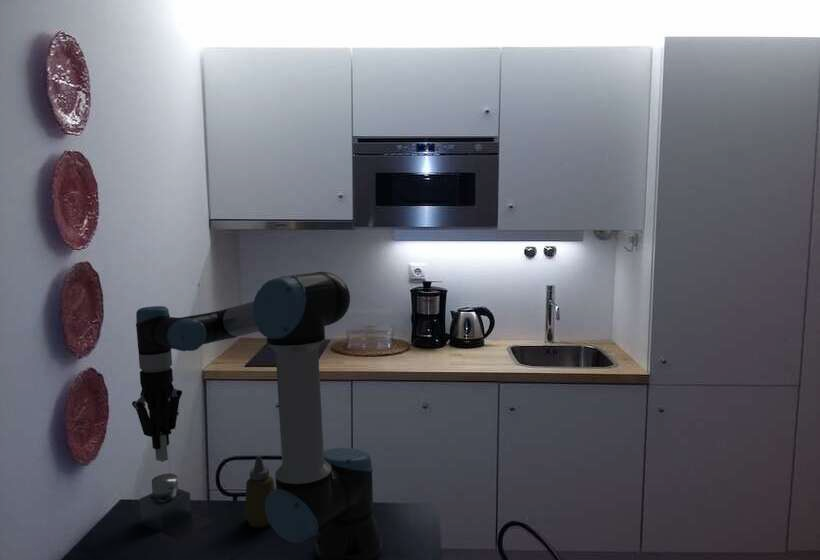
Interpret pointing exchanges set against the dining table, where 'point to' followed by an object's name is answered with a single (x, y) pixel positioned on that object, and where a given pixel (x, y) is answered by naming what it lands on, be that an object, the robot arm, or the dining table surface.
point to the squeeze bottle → (258, 494)
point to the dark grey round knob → (164, 487)
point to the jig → (171, 515)
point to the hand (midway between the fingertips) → (161, 459)
